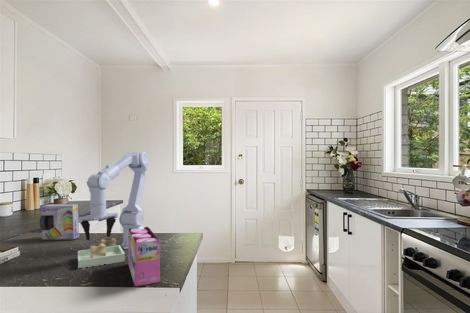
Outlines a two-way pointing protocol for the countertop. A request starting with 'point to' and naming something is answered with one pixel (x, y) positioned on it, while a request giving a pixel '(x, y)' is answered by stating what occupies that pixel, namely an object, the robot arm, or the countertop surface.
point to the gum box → (144, 256)
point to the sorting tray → (112, 256)
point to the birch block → (97, 250)
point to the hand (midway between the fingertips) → (98, 238)
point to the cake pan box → (59, 221)
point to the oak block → (109, 242)
